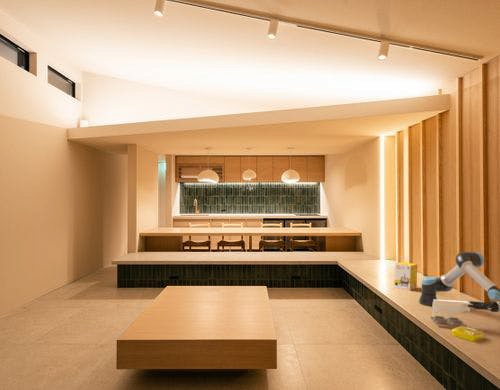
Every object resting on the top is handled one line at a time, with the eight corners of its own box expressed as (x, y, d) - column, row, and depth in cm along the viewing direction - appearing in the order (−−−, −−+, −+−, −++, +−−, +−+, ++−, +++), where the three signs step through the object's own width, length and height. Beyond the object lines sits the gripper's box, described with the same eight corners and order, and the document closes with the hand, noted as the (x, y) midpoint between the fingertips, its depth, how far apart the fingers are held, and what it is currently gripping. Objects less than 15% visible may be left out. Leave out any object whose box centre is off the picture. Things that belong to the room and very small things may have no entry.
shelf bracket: (431, 315, 268) (432, 298, 269) (467, 318, 266) (467, 301, 266) (434, 317, 263) (435, 300, 263) (470, 320, 260) (471, 303, 260)
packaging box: (394, 287, 375) (395, 263, 375) (401, 285, 386) (402, 261, 386) (409, 290, 363) (410, 265, 363) (416, 288, 374) (417, 264, 374)
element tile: (484, 338, 240) (485, 331, 240) (474, 343, 231) (474, 335, 232) (461, 331, 252) (461, 324, 252) (450, 335, 244) (450, 328, 244)
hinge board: (430, 318, 277) (430, 313, 277) (459, 321, 273) (459, 315, 273) (439, 327, 257) (439, 321, 257) (469, 330, 253) (469, 324, 254)
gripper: (502, 315, 250) (466, 312, 255) (491, 308, 268) (456, 305, 272) (502, 305, 251) (466, 302, 255) (491, 298, 268) (457, 295, 272)
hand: (461, 304), depth 264 cm, fingers closed on shelf bracket, 4 cm apart
